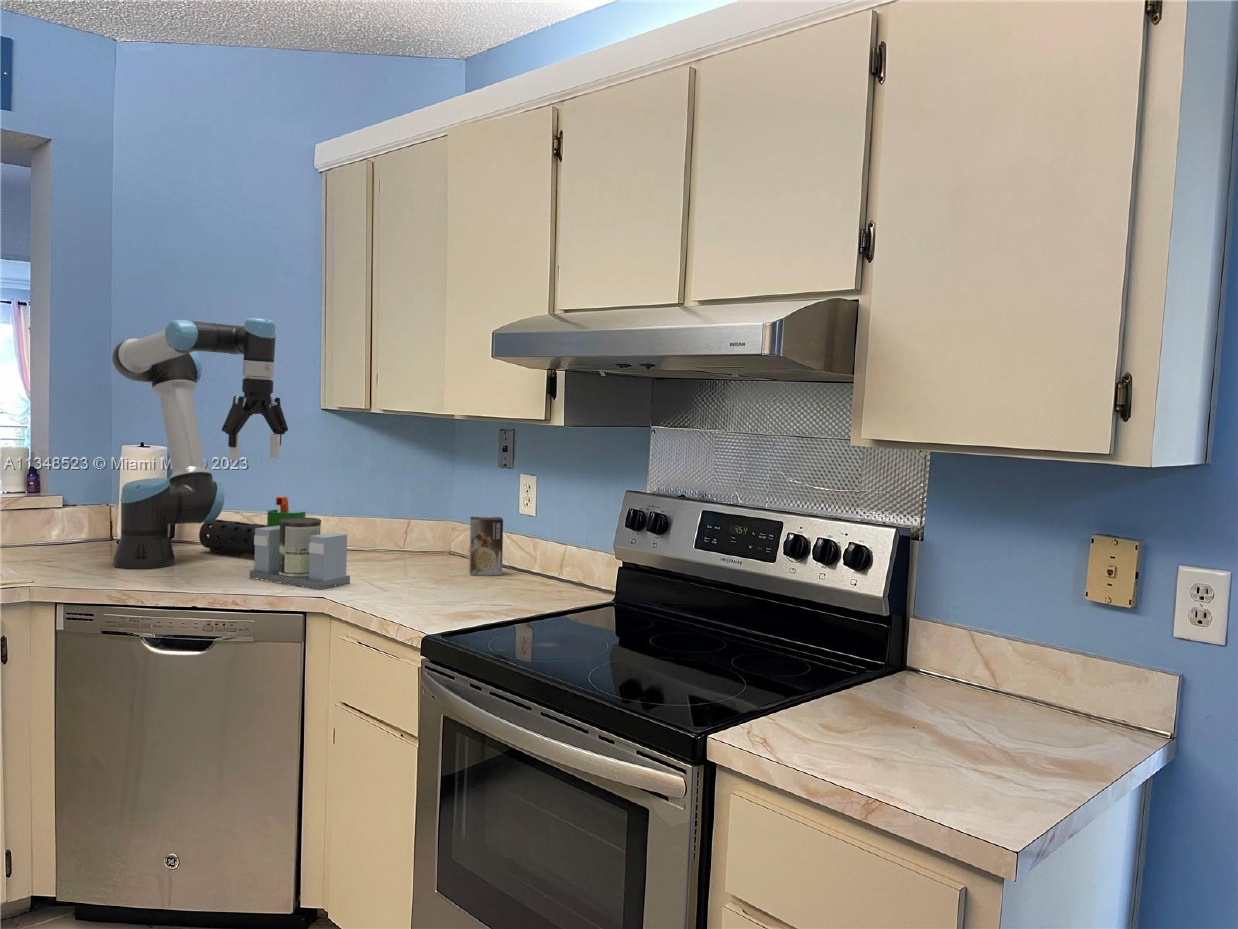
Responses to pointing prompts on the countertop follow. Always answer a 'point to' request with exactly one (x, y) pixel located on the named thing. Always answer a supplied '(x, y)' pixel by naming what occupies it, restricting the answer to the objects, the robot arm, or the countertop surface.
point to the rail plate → (298, 579)
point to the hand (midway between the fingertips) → (254, 459)
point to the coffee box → (486, 546)
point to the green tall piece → (281, 513)
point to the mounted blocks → (323, 550)
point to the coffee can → (296, 545)
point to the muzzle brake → (229, 536)
